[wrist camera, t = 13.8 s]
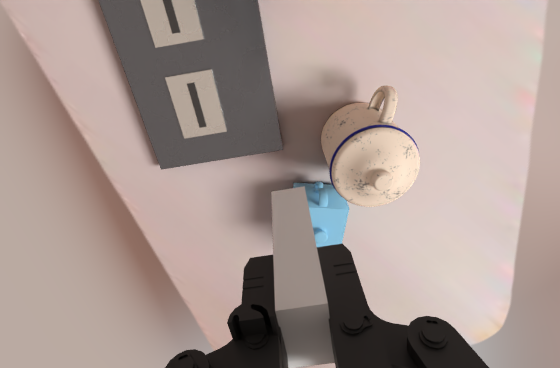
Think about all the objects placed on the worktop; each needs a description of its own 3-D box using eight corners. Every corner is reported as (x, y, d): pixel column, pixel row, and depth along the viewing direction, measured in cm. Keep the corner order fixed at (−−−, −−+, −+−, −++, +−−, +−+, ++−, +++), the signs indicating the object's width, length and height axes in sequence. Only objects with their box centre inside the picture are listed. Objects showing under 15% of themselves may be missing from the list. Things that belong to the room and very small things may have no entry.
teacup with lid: (378, 174, 46) (410, 228, 35) (310, 163, 44) (324, 215, 34) (413, 83, 40) (464, 116, 30) (336, 66, 39) (362, 96, 28)
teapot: (327, 244, 51) (336, 282, 44) (285, 242, 51) (288, 280, 44) (341, 171, 45) (353, 202, 39) (294, 168, 45) (299, 200, 38)
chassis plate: (58, -125, 30) (48, -131, 28) (230, -161, 29) (228, -168, 28) (163, 165, 44) (160, 170, 42) (282, 145, 43) (283, 151, 42)
